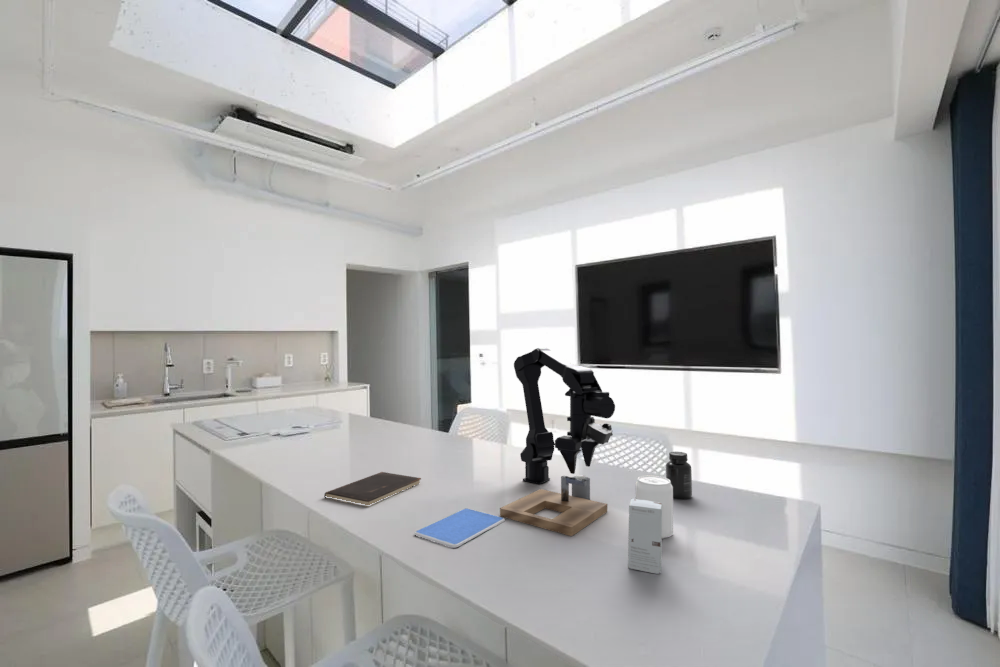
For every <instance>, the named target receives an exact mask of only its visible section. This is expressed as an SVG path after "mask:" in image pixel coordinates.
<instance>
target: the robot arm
mask: <svg viewBox="0 0 1000 667" xmlns="http://www.w3.org/2000/svg"><path fill="white" fill-rule="evenodd" d="M544 367H546V368H547V369H550V371H552V372H555V373H556V374H557V375H558V376H560V377H561V378H562V382H563V383H564V384H565V385H566V386H567V387H568V388H569V389H568V391H566V392H565V393H564V395H565V397H569V398H570V399H569V400H570V401H569V404H570V405H569V408H570V409H569V416H567V417H566V419H567V422H569V431H567V432H566V435H561V436H559V437H557V438H555V440H554V434H553V432H552V431H548V429H547V428H546V424H545V418H544V412H543V405H542V401H541V393H540V387H539V380H540V378H541V375H542V368H544ZM513 369H514V373H515V377H516V378H517V380H518V381H519V382H520V383H521V384H522V385H521V386H522V388H523V389H522V390H523V397H524V402H525V403H524V404H525V408H526V415H527V422H528V433H527V435H526V437H525V447H524V448H523V449H522V451H521V453H520V460H521V462H524V463H525V477H524V478H522V481H523V482H528V483H532V484H537V485H541V484H543V483H545V482H548V481H550V480H551V478H550V476H549V475H550V474H549V473H550V471H549V469H550V468H549V466H548V461H552V459H553V456H554V455H553V454H554V452H555V449H557V451H559V452H560V454H561V456H562V459H563V460H564V462H565V464H566V466H567V468H568V471H569V473H570V474H572V475H574V474H576V467H577V458H578V454H580V453H582V457H583V461H584V465H585V466H586V467H589V468H590V467H591V463H592V460H593V458H594V454H595V451H596V449H597V447H598V446H599V445H605V444H608V443H609V441H610V439H611V437H612V436H613V430H612V424H610V423H608V422H605V423H603V424H602V425H601V424H598V423H596V420H595V417H597V418H602V419H611V417H612V416H613V415H614V413H615V410H616V404H615V401H614V400H613V398H612V397H610V392H609V391H603V390H602V387H601V386H600V384H599V382H598V380H597V377H596V376H595V374H594V373H595V372H594V371H593V369H591V368H589V367H586V366H582V365H577V364H573V363H571V362H569V361H568V360H567V359H564V358H563V357H561V356H560V355H558V354H556V353H554V352H553V351H552V350H551V349H549V348H547V347H540V348H539V347H537V348H535V349H533V350H532V351H530V352H527V353H525V354H523V355H519V356H518V357H516V359H515V360H514V363H513Z"/></svg>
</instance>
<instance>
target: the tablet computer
mask: <svg viewBox="0 0 1000 667" xmlns="http://www.w3.org/2000/svg"><path fill="white" fill-rule="evenodd" d="M505 521H506V520H505V517H501V516H497V515H493V514H489V513H485V512H482V511H480V510H479V511H478V510H475V509H471V508H463V509H461V510H459V511H456V512H455V513H453V514H451V515H449V516H446V517H445V518H444V517H443V518H442V519H440V520H437V521H435V522H433V523H431V524H429V525H427V526H424V527H422V528H420V529H418V530H416V531H414V534H415V535H417V536H420V537H423V538H426V539H429V540H432V541H435V542H437V543H436V544H438V543H441V544H443V545H442V546H444V545H446V546H445V547H447V546H448V547H447V548H451V549H457V548H459V547H460V546H463V545H465V543H467V542H469V541H470V540H472V539H475V538H477V537H478V536H480V535H481V534H483V533H486V532H487V531H489V530H491V529H493V528H495V527H497V526H499V525H500V524H502V523H504V522H505ZM414 534H413V535H414ZM415 535H414V536H415ZM417 536H416V537H417ZM420 537H419V538H420ZM423 538H422V539H423ZM426 539H425V540H426ZM429 540H428V541H429ZM432 541H431V542H432ZM435 542H434V543H435ZM441 544H440V545H441Z"/></svg>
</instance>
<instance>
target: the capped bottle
mask: <svg viewBox="0 0 1000 667" xmlns="http://www.w3.org/2000/svg"><path fill="white" fill-rule="evenodd" d="M572 478H577V479H582V480H587V485H586V486H580V485H575V484H571V496H574V497H579V498H583V499H588V500H591V478H590V477H588V476H586V475H583V474H576V475H575V476H572Z"/></svg>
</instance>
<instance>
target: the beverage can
mask: <svg viewBox="0 0 1000 667" xmlns="http://www.w3.org/2000/svg"><path fill="white" fill-rule="evenodd" d="M634 494H635V495H634V496H635V498H634V499H638V500H647V501H653V502H659V503H662V539H667V538H669V537H671V536H673V534H674V498H673V487H672V485H671V481H670V480H669V479H667V478H666V477H664V476H660V475H659V476H658V475H653V474H652V475H647V474H646V475H640V476H638V477H637V480H636V482H635V493H634Z"/></svg>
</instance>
